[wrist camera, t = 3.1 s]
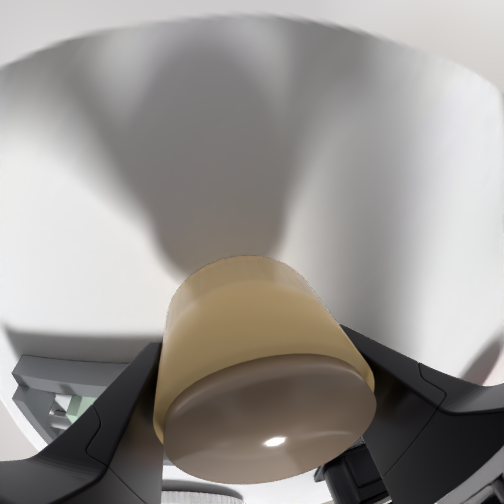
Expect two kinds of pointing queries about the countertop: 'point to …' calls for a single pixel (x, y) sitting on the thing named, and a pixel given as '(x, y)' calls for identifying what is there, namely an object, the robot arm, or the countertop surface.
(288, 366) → the amber jar
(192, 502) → the plastic lid
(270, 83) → the countertop surface
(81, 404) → the pusher
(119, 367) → the lane
